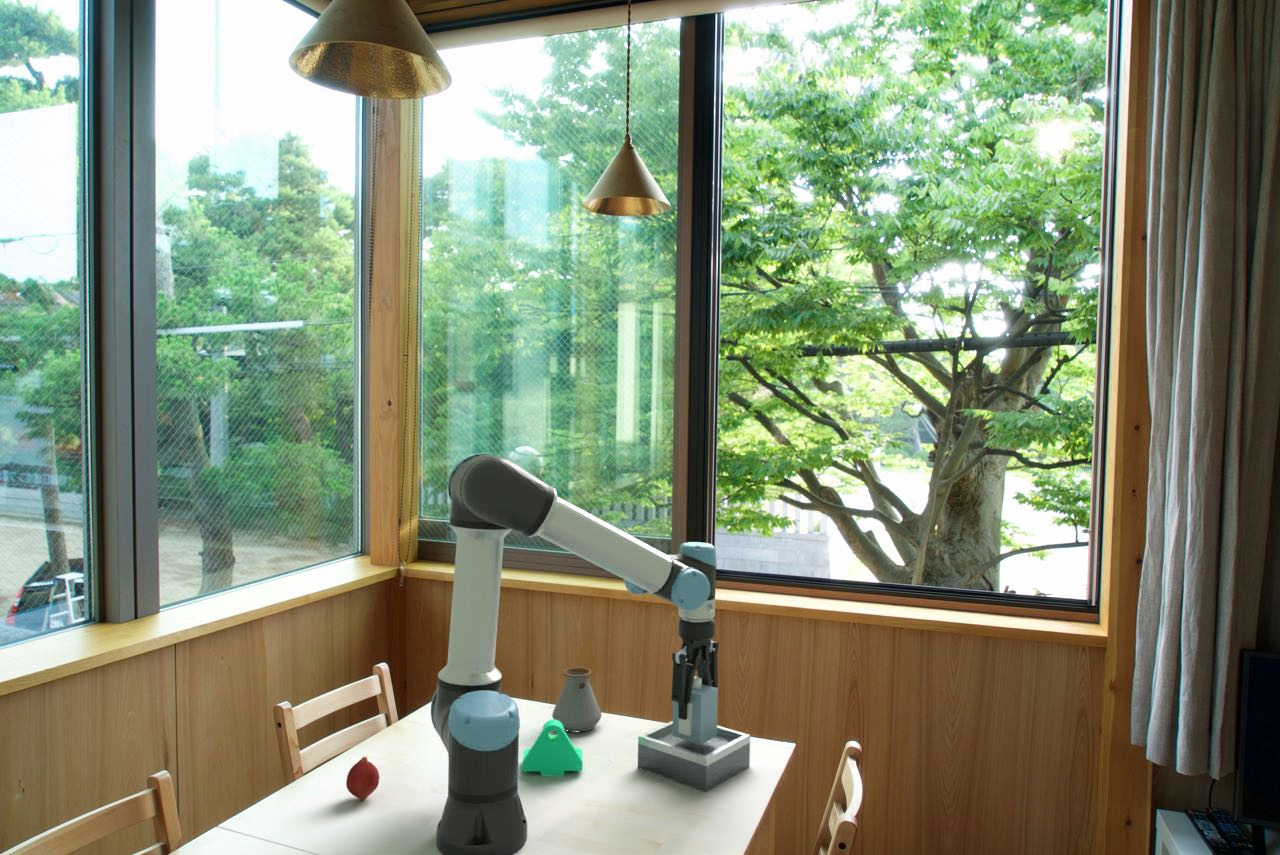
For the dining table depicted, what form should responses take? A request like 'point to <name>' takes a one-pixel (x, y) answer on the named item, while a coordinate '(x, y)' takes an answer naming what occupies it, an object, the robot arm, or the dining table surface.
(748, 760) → the open square box
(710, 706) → the blue bottle
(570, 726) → the coffee pot
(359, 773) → the onion
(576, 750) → the camera mount
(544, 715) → the dining table surface
